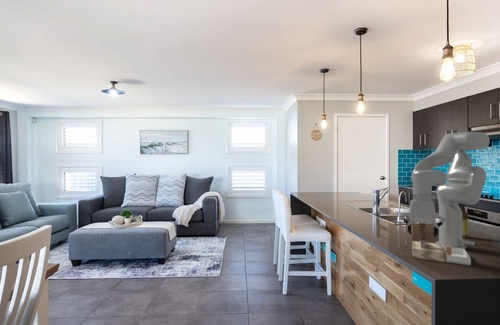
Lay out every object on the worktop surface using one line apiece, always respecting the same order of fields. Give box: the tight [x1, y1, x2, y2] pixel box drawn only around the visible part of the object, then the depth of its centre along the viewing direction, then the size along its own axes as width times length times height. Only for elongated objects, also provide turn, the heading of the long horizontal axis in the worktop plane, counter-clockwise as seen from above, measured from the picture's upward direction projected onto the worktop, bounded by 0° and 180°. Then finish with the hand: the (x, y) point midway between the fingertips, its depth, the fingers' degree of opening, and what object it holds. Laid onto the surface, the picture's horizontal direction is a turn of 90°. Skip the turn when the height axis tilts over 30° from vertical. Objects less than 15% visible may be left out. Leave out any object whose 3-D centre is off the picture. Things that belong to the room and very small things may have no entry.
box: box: [443, 247, 472, 267], centre depth 122 cm, size 8×14×3 cm, turn 151°
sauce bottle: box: [457, 203, 470, 239], centre depth 158 cm, size 7×6×20 cm
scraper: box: [418, 222, 427, 249], centre depth 128 cm, size 2×9×10 cm, turn 151°
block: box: [446, 245, 451, 255], centre depth 124 cm, size 4×4×2 cm
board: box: [411, 240, 447, 263], centre depth 127 cm, size 12×14×4 cm
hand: (422, 234), depth 128 cm, fingers open, 9 cm apart
